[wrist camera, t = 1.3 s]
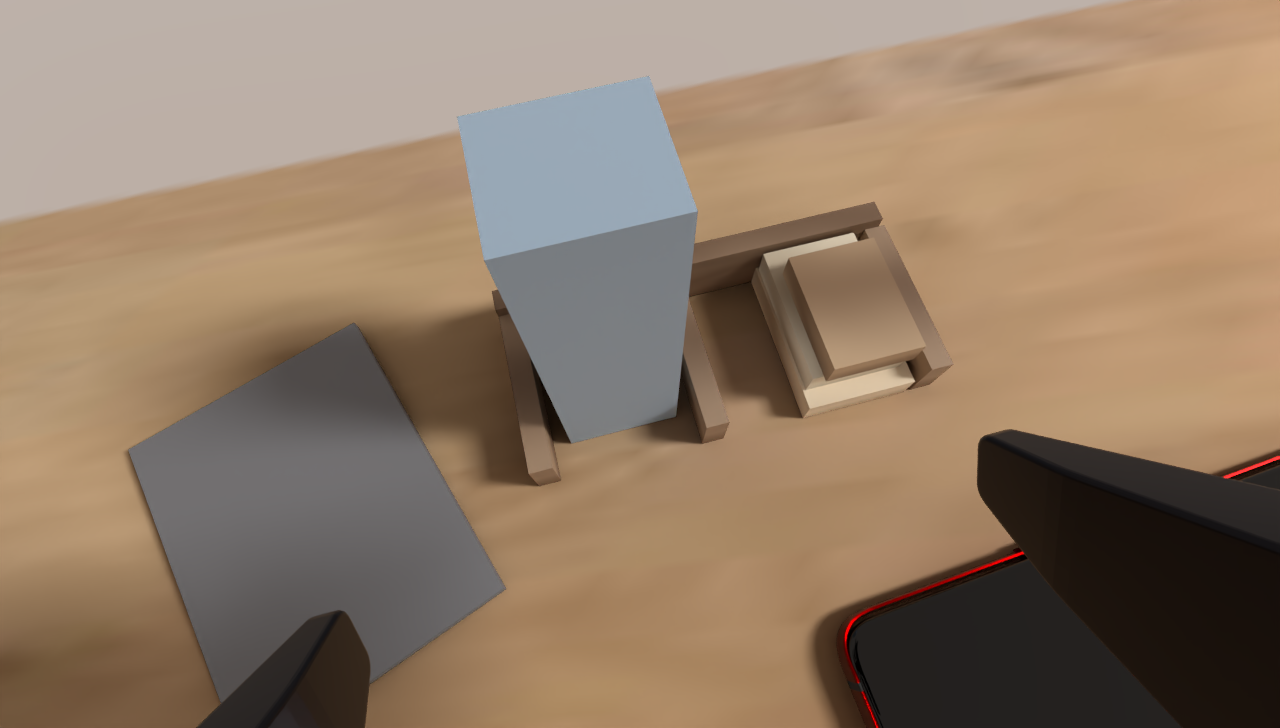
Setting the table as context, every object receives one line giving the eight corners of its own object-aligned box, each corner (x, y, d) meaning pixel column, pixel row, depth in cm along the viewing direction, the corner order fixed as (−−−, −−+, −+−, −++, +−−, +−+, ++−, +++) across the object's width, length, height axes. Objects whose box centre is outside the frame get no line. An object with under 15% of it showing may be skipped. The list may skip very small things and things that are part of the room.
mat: (506, 588, 21) (503, 588, 20) (252, 765, 19) (244, 768, 18) (358, 327, 25) (353, 322, 24) (136, 452, 23) (127, 449, 22)
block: (675, 416, 23) (697, 210, 11) (571, 443, 23) (484, 260, 11) (651, 334, 24) (649, 75, 13) (552, 359, 24) (457, 116, 12)
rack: (929, 384, 23) (960, 358, 21) (539, 486, 22) (526, 470, 20) (860, 238, 26) (880, 200, 23) (507, 322, 24) (492, 291, 22)
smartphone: (1814, 767, 17) (1046, 1150, 15) (1725, 755, 19) (1010, 1102, 16) (1466, 384, 22) (827, 620, 19) (1415, 398, 23) (815, 620, 21)
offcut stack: (903, 391, 23) (941, 357, 20) (802, 418, 23) (826, 387, 20) (843, 260, 25) (869, 210, 22) (751, 282, 25) (764, 235, 22)
